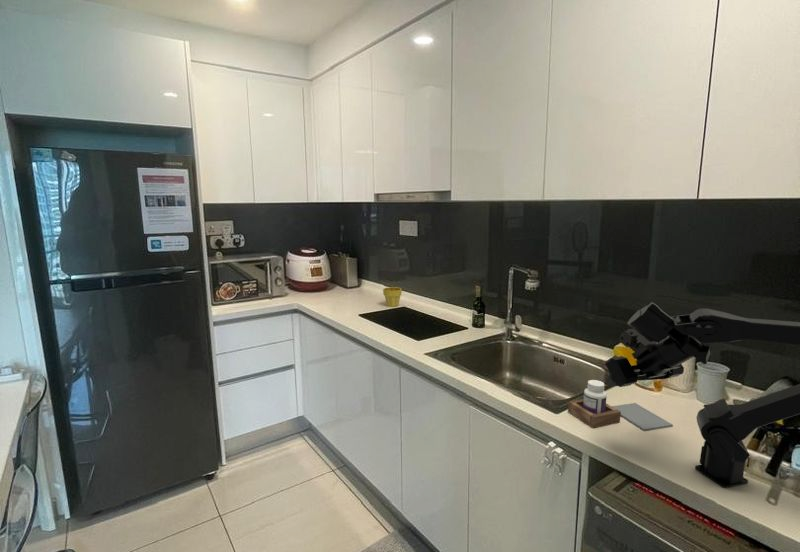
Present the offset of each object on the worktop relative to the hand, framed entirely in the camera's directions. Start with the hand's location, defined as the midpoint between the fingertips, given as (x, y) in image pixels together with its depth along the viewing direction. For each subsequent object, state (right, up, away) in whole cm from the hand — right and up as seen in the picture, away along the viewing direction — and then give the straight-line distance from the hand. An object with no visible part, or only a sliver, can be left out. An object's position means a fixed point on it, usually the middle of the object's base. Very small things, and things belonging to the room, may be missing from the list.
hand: (620, 381), depth 99 cm
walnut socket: (-3, -12, +9) cm, 15 cm away
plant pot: (-59, +9, +130) cm, 143 cm away
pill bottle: (-3, -12, +9) cm, 15 cm away
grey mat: (+10, -12, +9) cm, 18 cm away
